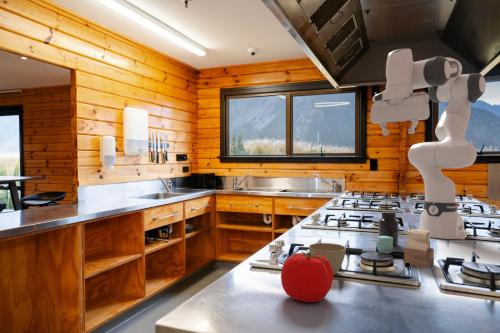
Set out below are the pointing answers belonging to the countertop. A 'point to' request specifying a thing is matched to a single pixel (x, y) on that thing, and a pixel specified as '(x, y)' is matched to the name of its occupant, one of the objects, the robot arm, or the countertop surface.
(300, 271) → the tomato
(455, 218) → the robot arm
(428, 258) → the tower base
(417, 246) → the tower top
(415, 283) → the countertop surface
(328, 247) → the flower pot
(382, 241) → the green cube
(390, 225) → the supplement bottle
